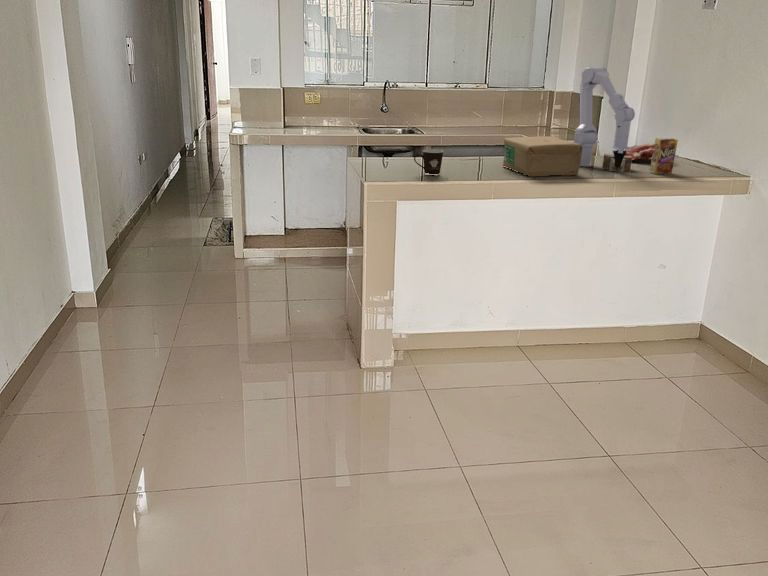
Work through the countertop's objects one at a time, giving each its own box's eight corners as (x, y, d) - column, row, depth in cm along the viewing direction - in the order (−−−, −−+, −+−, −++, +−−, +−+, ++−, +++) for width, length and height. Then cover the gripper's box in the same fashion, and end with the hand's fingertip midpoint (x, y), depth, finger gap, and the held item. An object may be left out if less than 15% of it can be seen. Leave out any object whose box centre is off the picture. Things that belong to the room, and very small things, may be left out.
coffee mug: (444, 173, 289) (445, 150, 286) (439, 177, 282) (440, 153, 278) (418, 171, 293) (419, 148, 289) (412, 175, 285) (413, 151, 282)
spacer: (609, 170, 304) (610, 158, 302) (609, 170, 306) (610, 158, 304) (623, 171, 302) (625, 159, 301) (623, 171, 304) (625, 159, 302)
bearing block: (602, 169, 307) (604, 156, 305) (602, 167, 312) (604, 154, 310) (630, 171, 304) (632, 157, 302) (629, 168, 309) (631, 155, 307)
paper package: (499, 166, 309) (501, 136, 304) (550, 165, 315) (553, 135, 310) (525, 178, 285) (528, 144, 280) (579, 176, 291) (583, 143, 286)
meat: (622, 163, 323) (625, 142, 320) (620, 157, 343) (622, 137, 339) (668, 166, 319) (672, 145, 315) (663, 159, 338) (666, 139, 334)
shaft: (611, 170, 301) (612, 159, 300) (610, 166, 310) (612, 156, 309) (622, 171, 300) (623, 160, 299) (621, 167, 309) (622, 156, 308)
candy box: (654, 174, 298) (660, 139, 292) (649, 172, 301) (654, 138, 296) (672, 173, 299) (678, 139, 294) (666, 172, 303) (672, 137, 298)
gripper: (632, 138, 287) (627, 170, 291) (630, 134, 300) (626, 165, 305) (615, 137, 289) (610, 169, 293) (613, 133, 302) (609, 164, 306)
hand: (617, 167), depth 299 cm, fingers closed
